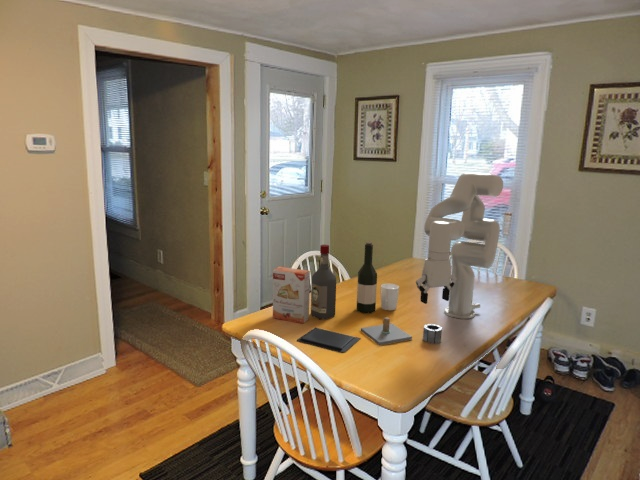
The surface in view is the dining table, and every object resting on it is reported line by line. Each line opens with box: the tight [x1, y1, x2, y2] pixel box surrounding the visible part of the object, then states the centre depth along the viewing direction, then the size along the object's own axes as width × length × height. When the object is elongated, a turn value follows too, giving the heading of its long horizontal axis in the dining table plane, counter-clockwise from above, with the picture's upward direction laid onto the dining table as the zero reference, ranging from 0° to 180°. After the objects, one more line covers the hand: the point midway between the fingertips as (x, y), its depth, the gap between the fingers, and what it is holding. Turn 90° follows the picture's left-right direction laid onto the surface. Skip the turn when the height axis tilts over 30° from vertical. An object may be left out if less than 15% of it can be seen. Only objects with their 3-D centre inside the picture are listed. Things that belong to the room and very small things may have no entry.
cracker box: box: [272, 266, 311, 324], centre depth 192 cm, size 14×6×21 cm, turn 69°
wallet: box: [296, 327, 362, 354], centre depth 175 cm, size 20×2×15 cm
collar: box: [422, 323, 443, 345], centre depth 176 cm, size 6×6×5 cm
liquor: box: [310, 244, 337, 321], centre depth 195 cm, size 9×9×30 cm
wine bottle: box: [356, 241, 378, 314], centre depth 202 cm, size 8×8×30 cm
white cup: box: [380, 283, 400, 311], centre depth 208 cm, size 8×8×10 cm
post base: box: [360, 316, 413, 346], centre depth 179 cm, size 14×14×7 cm
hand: (434, 301), depth 173 cm, fingers open, 9 cm apart
